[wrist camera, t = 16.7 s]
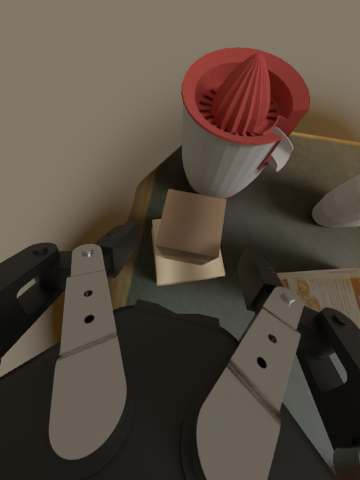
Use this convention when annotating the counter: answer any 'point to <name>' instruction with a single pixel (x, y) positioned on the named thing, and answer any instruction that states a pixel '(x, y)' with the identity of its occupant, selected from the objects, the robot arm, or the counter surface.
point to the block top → (183, 266)
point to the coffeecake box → (327, 289)
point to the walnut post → (191, 227)
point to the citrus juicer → (238, 118)
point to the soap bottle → (340, 206)
